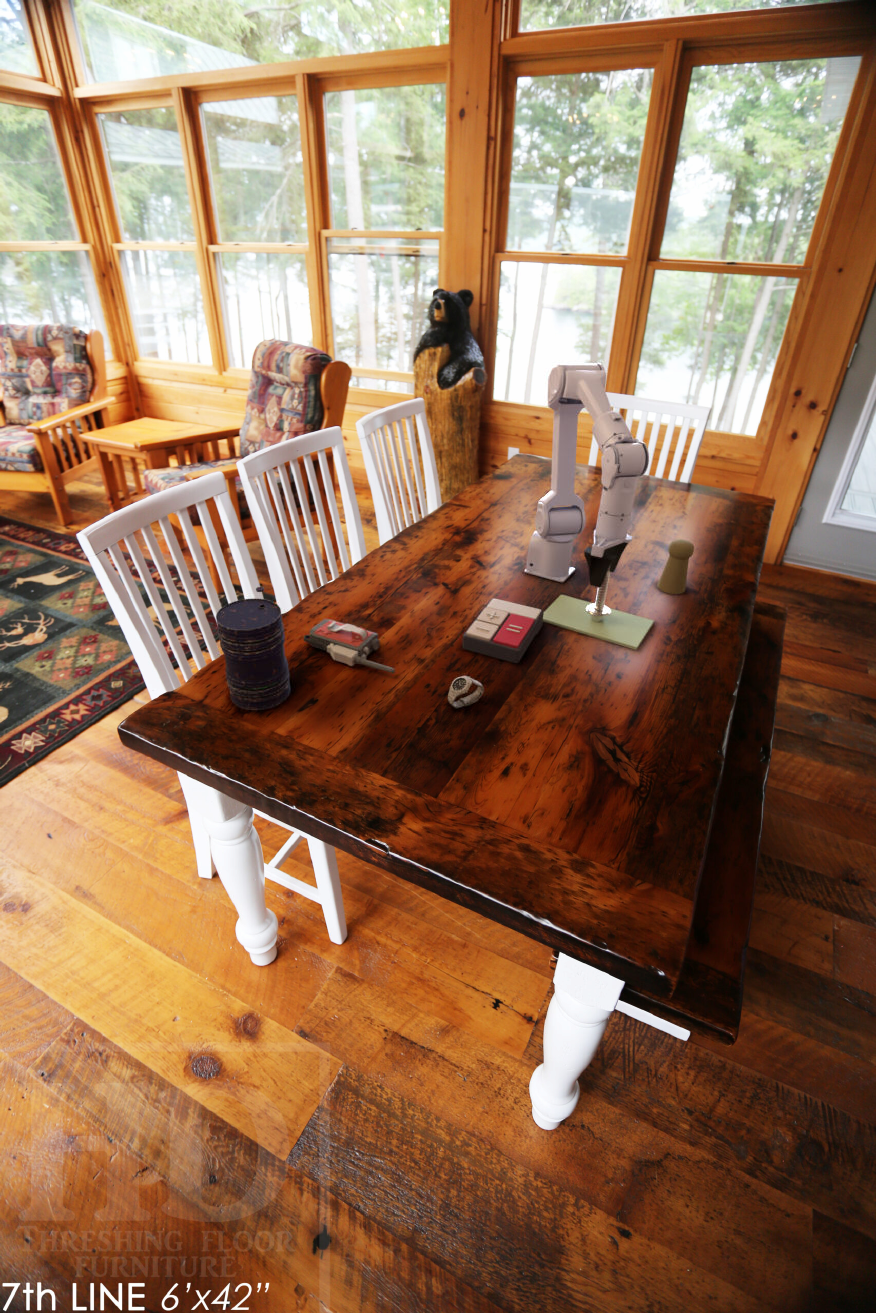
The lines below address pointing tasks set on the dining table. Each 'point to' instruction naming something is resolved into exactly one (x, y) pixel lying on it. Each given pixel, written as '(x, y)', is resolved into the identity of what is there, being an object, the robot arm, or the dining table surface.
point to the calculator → (503, 630)
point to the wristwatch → (464, 691)
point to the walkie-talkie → (345, 643)
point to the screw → (600, 602)
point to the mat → (612, 629)
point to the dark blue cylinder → (254, 652)
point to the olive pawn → (676, 567)
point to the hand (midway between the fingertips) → (602, 578)
